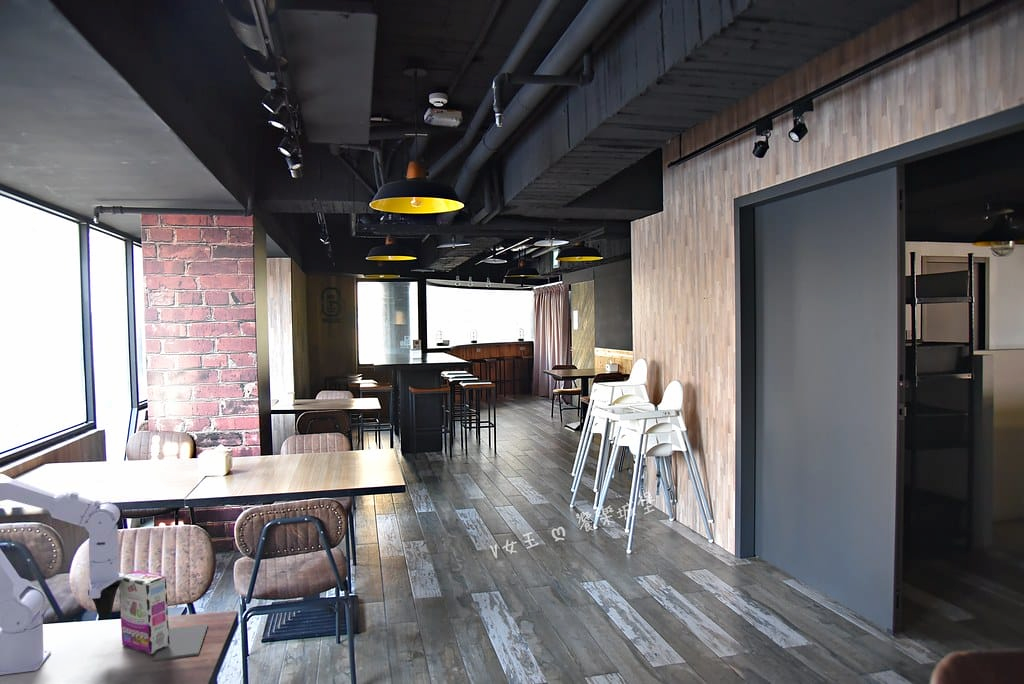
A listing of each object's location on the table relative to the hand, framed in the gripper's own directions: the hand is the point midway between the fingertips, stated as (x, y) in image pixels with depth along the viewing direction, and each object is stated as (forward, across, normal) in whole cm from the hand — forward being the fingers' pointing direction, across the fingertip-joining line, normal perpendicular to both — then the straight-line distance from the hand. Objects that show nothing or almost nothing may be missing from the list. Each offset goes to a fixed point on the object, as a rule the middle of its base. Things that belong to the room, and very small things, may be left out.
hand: (105, 616), depth 149 cm
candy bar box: (+8, 0, -8) cm, 12 cm away
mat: (+8, 0, -16) cm, 18 cm away
